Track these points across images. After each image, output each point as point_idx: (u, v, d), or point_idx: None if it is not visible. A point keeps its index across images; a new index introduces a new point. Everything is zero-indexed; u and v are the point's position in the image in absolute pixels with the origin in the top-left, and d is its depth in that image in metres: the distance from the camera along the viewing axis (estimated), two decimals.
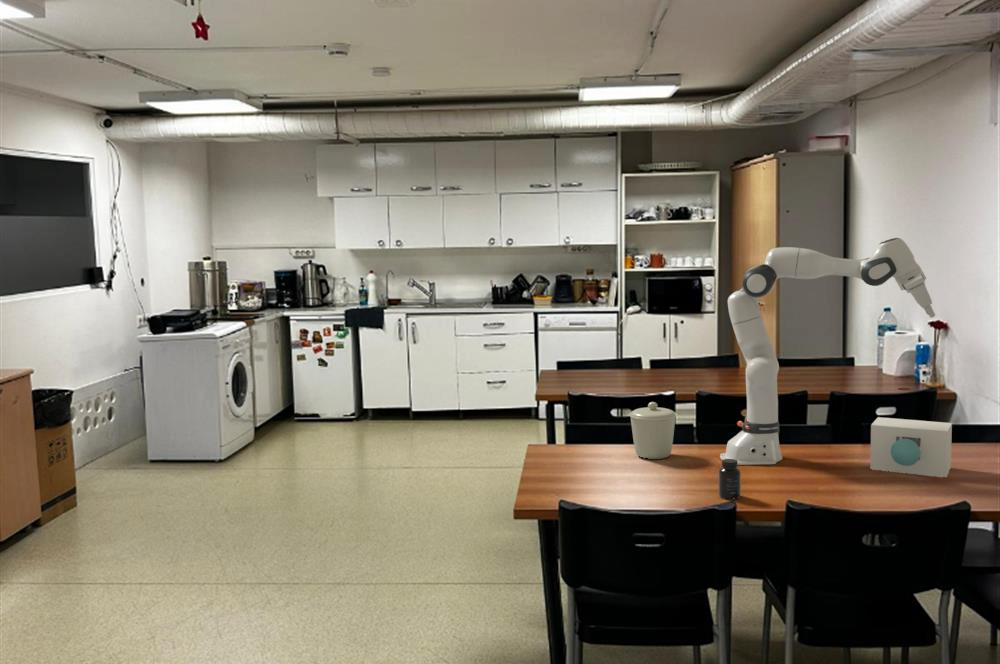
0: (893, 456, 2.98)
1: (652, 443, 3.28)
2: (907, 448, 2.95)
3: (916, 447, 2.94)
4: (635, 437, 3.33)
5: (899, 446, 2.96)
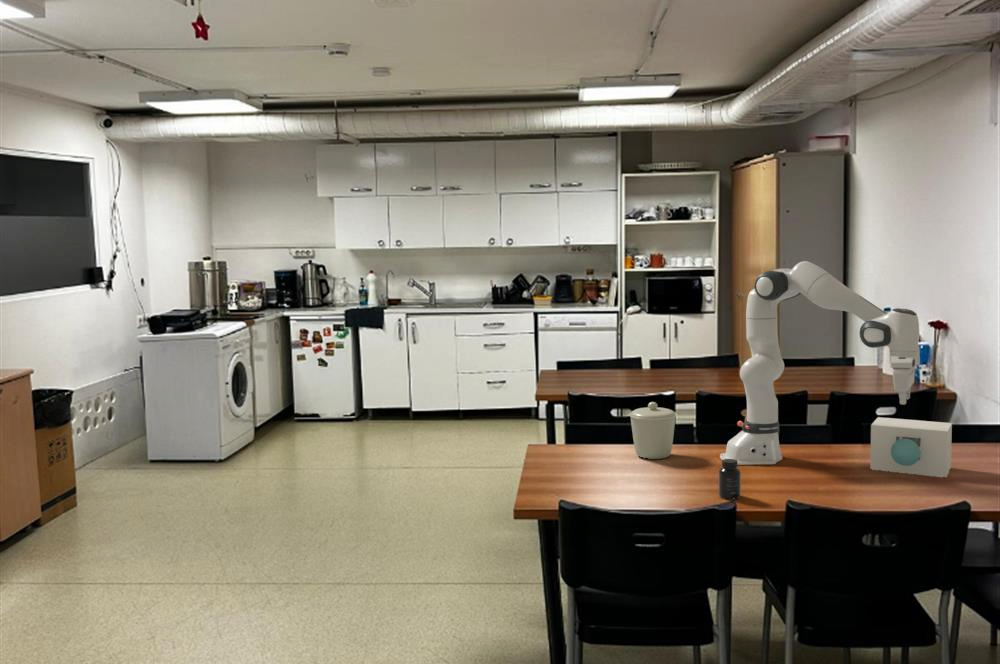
0: (893, 456, 2.98)
1: (652, 443, 3.28)
2: (907, 448, 2.95)
3: (916, 447, 2.94)
4: (635, 437, 3.33)
5: (899, 446, 2.96)
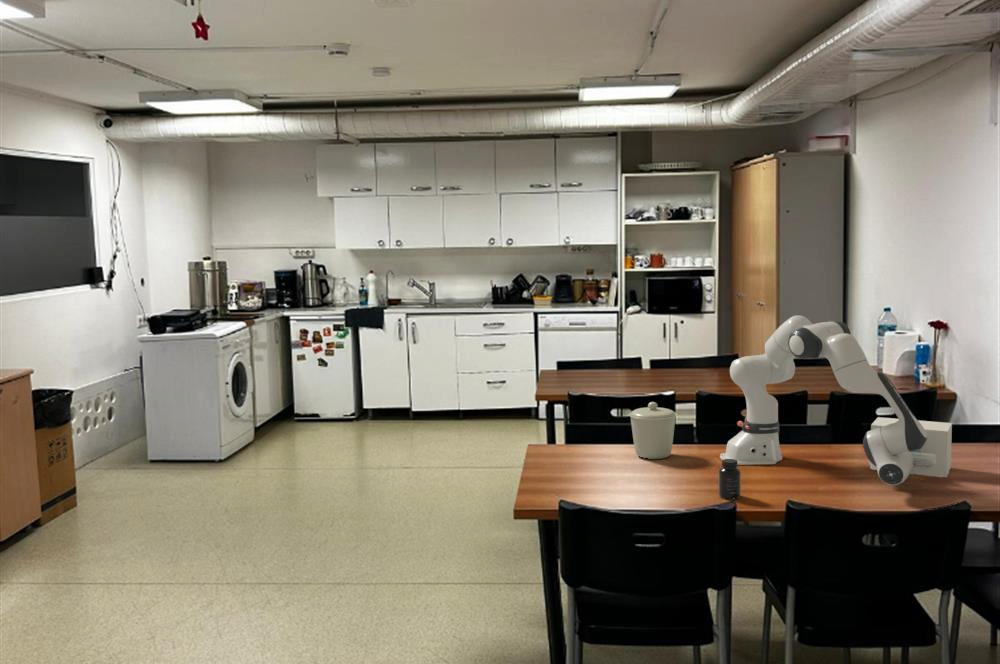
0: None
1: (652, 443, 3.28)
2: None
3: None
4: (635, 437, 3.33)
5: None
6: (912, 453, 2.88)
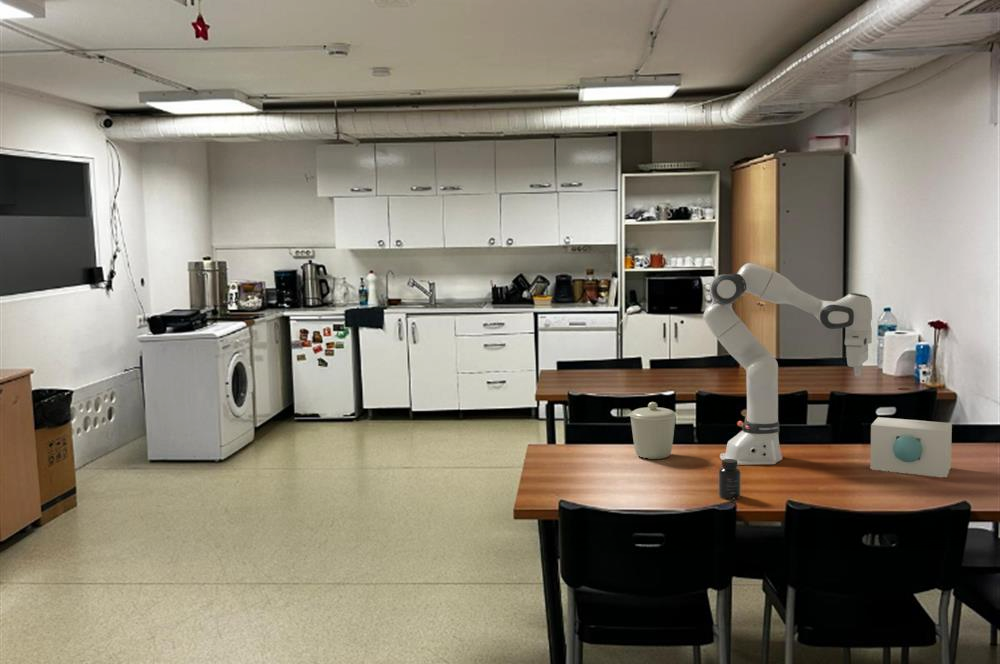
0: (895, 452, 3.02)
1: (652, 443, 3.28)
2: (909, 445, 2.99)
3: (918, 444, 2.98)
4: (635, 437, 3.33)
5: (901, 443, 3.01)
6: None
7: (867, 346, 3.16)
